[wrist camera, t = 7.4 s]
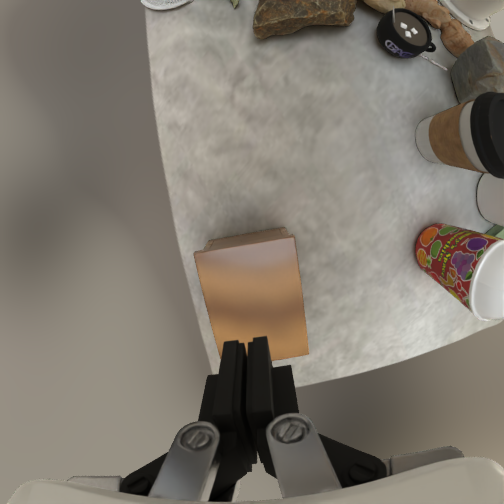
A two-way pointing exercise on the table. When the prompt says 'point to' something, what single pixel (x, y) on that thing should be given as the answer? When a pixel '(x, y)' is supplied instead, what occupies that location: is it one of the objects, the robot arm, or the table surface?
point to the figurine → (442, 24)
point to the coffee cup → (466, 135)
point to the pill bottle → (491, 198)
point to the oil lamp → (385, 5)
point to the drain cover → (150, 0)
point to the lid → (255, 294)
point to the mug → (405, 34)
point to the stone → (479, 69)
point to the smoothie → (465, 267)
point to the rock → (300, 15)
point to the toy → (234, 2)
